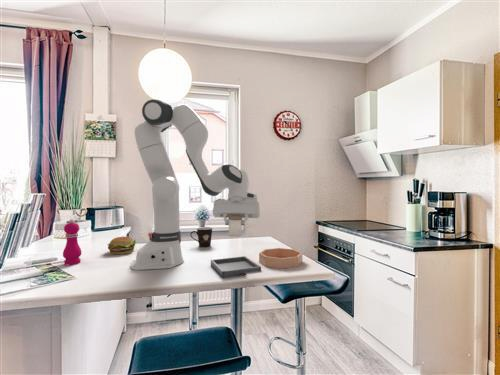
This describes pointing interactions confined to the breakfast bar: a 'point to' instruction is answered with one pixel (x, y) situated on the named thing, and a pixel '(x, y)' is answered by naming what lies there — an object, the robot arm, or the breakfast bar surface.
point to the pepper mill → (71, 244)
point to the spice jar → (235, 225)
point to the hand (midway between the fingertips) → (235, 224)
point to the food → (121, 245)
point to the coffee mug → (204, 236)
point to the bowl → (280, 258)
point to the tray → (234, 266)
